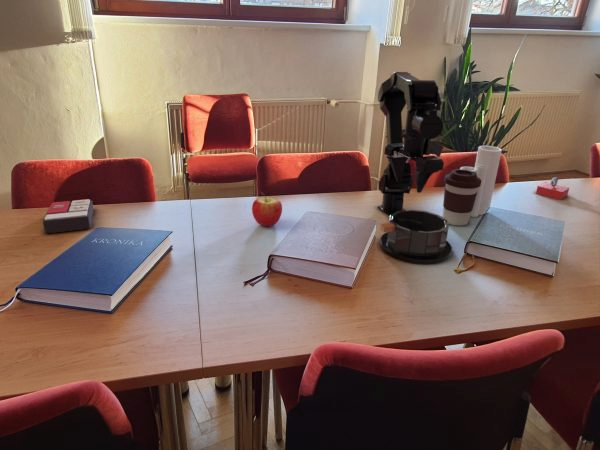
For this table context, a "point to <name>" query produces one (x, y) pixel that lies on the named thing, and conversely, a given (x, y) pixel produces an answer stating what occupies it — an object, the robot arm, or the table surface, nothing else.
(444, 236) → the bowl
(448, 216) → the coffee cup
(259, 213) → the apple
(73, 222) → the grey labelled box
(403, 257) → the turntable
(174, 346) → the table surface
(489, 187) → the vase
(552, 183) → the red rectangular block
